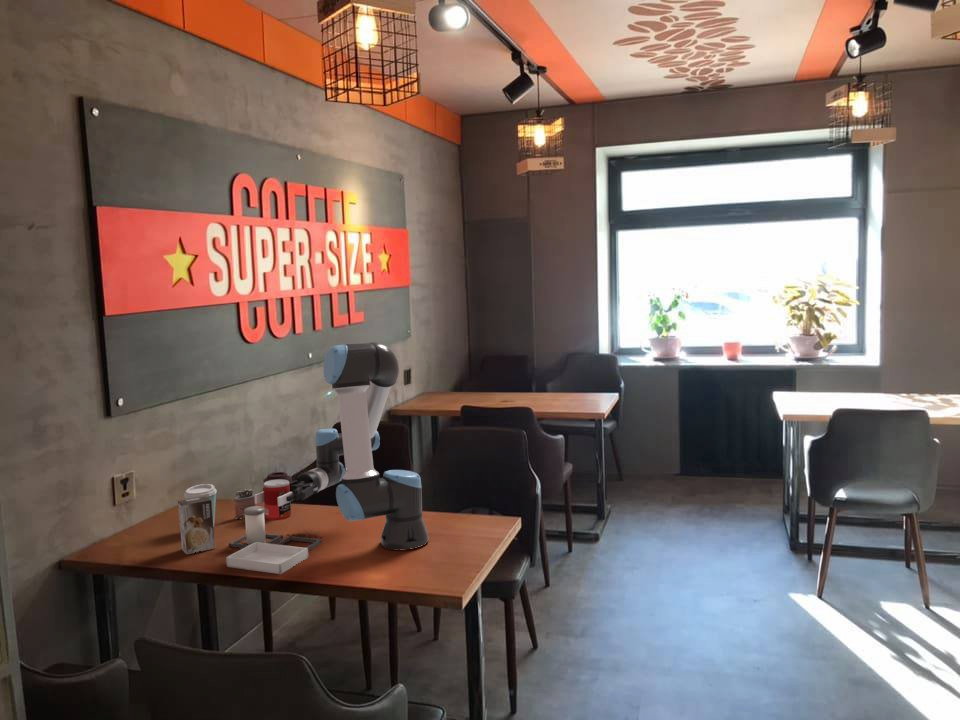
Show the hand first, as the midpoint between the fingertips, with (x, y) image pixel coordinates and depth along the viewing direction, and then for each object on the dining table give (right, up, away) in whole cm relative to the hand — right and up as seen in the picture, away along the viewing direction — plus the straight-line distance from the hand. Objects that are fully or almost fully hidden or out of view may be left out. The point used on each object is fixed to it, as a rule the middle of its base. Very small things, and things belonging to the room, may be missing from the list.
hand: (267, 500), depth 243 cm
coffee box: (-25, -18, +11) cm, 33 cm away
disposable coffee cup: (-30, -16, +31) cm, 46 cm away
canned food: (+2, -6, +5) cm, 8 cm away
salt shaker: (-8, -16, +16) cm, 25 cm away
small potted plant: (-19, -14, +45) cm, 51 cm away
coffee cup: (-8, -13, +46) cm, 49 cm away
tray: (+1, -18, -2) cm, 18 cm away
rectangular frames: (-1, -17, +14) cm, 21 cm away
